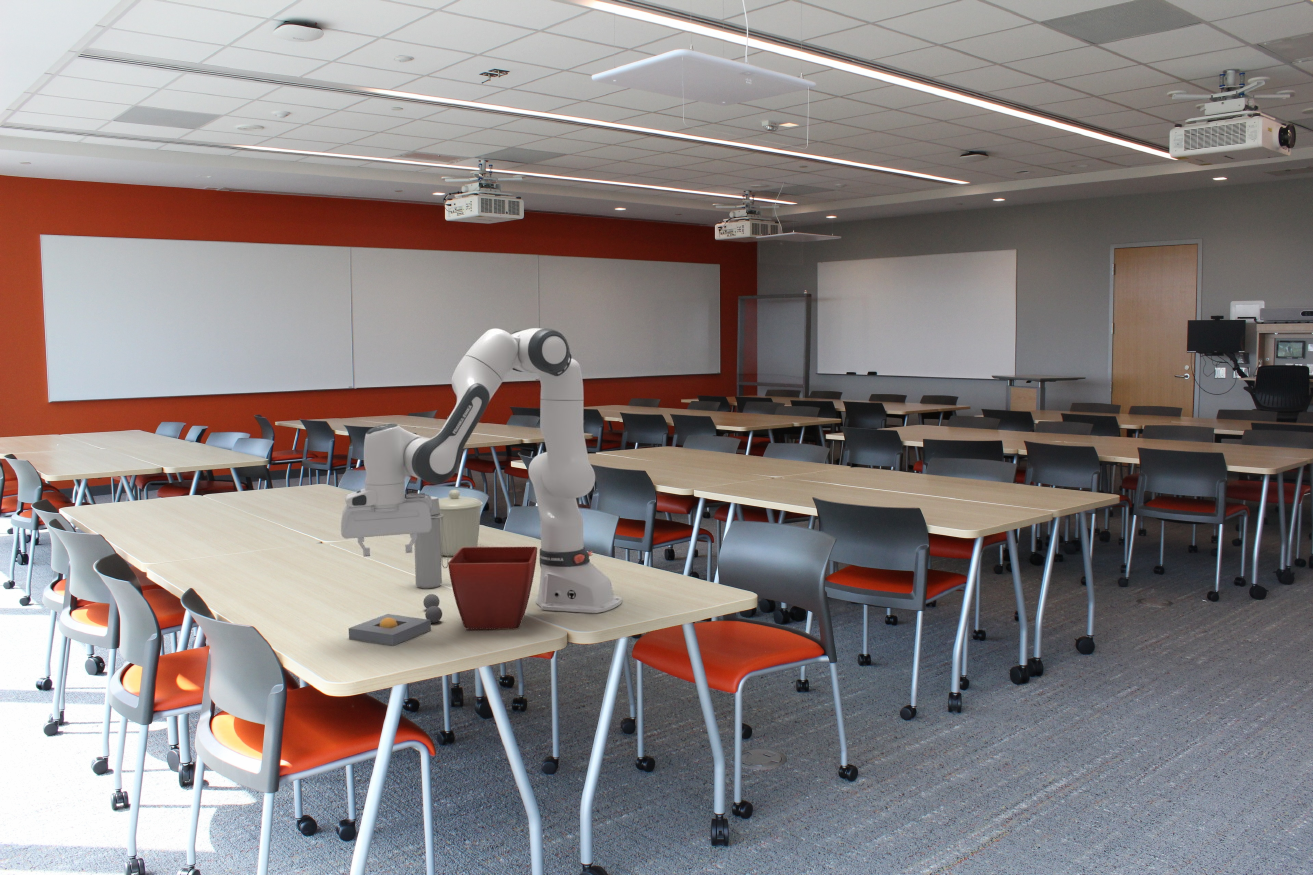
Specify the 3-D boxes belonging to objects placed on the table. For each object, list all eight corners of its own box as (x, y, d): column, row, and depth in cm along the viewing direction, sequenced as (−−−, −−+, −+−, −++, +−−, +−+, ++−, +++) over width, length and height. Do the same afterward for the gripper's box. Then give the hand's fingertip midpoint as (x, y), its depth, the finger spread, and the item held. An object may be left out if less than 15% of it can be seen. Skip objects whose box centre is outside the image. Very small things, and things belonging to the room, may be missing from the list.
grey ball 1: (443, 608, 241) (442, 593, 241) (432, 612, 237) (432, 596, 237) (430, 606, 243) (430, 591, 242) (420, 610, 239) (419, 595, 239)
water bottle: (415, 590, 260) (412, 500, 258) (415, 583, 267) (412, 496, 265) (449, 587, 262) (447, 499, 260) (448, 581, 270) (445, 495, 268)
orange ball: (402, 630, 220) (398, 614, 219) (391, 637, 216) (386, 621, 216) (390, 630, 222) (385, 614, 221) (378, 638, 218) (373, 622, 218)
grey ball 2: (445, 621, 229) (445, 605, 229) (435, 625, 226) (434, 609, 225) (432, 619, 231) (432, 603, 231) (422, 623, 228) (421, 607, 227)
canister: (489, 556, 303) (487, 491, 301) (432, 561, 296) (430, 495, 294) (478, 545, 320) (476, 484, 318) (424, 550, 313) (422, 487, 311)
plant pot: (539, 611, 238) (537, 545, 236) (532, 633, 219) (530, 562, 217) (463, 612, 237) (461, 546, 236) (449, 635, 218) (446, 563, 216)
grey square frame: (430, 630, 222) (430, 619, 222) (393, 645, 210) (392, 634, 210) (388, 623, 228) (387, 613, 227) (349, 638, 216) (348, 628, 216)
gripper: (430, 490, 223) (432, 547, 224) (339, 496, 216) (341, 555, 217) (433, 494, 217) (435, 553, 218) (339, 499, 210) (342, 560, 211)
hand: (387, 554), depth 218 cm, fingers open, 8 cm apart
